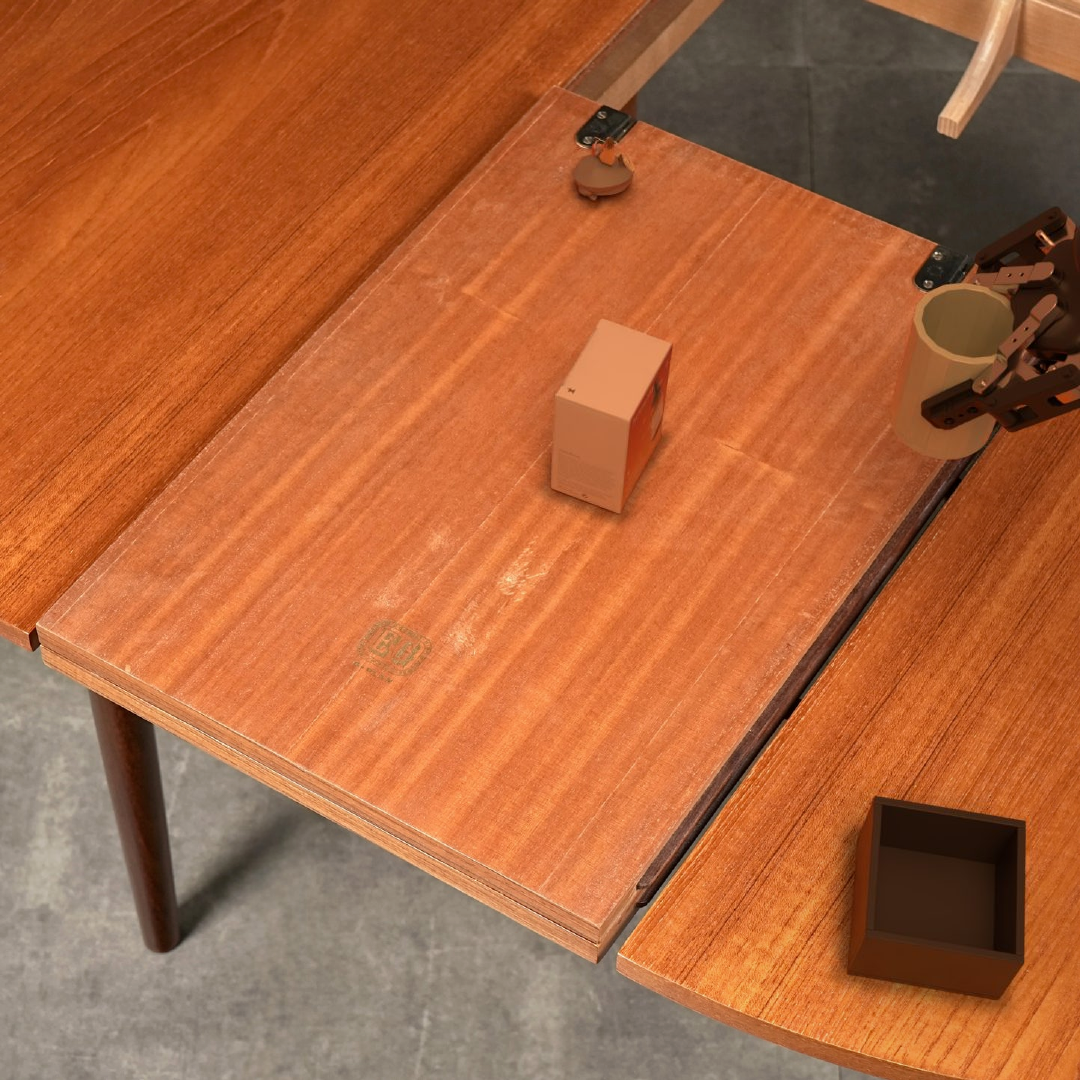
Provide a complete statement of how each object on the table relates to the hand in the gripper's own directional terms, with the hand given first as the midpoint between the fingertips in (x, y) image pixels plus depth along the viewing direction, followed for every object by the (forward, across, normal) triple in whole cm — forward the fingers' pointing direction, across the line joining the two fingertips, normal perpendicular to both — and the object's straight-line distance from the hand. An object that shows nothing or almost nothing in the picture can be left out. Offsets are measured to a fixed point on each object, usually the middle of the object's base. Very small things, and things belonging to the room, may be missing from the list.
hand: (927, 372), depth 104 cm
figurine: (+29, -34, -3) cm, 44 cm away
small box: (+27, -5, -1) cm, 28 cm away
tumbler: (+2, 0, +4) cm, 5 cm away
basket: (+12, +27, +16) cm, 33 cm away
